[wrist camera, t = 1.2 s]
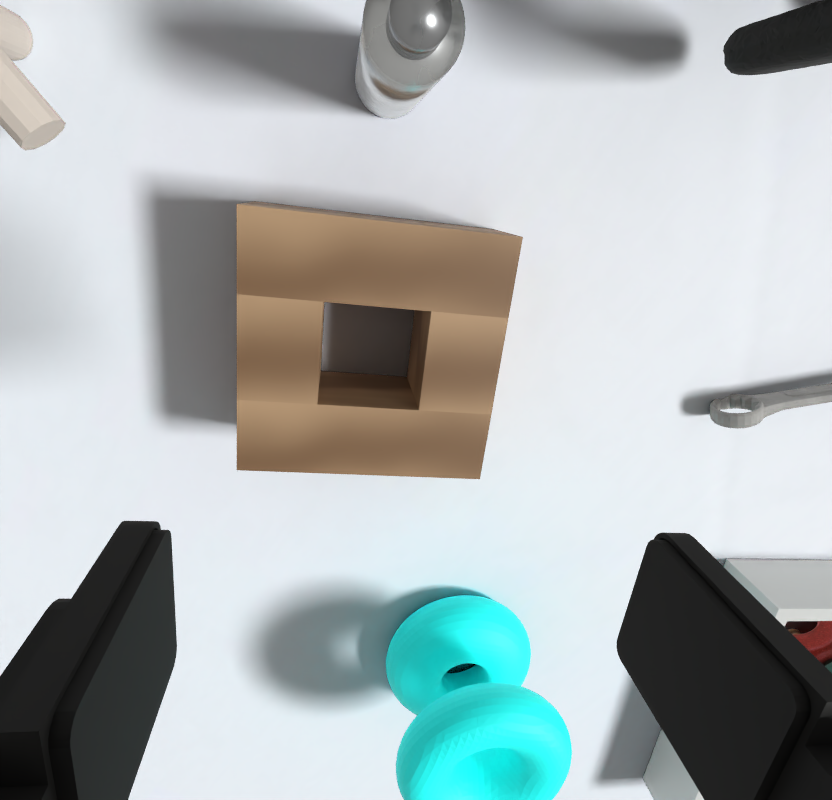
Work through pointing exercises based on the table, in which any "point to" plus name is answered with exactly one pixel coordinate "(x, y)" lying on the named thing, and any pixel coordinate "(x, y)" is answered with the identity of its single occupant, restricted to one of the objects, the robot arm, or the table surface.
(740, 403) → the combination wrench
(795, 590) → the parts tray
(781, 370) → the table surface
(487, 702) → the donuts
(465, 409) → the socket block
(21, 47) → the pipe connector
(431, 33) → the round bit
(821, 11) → the milk frother
